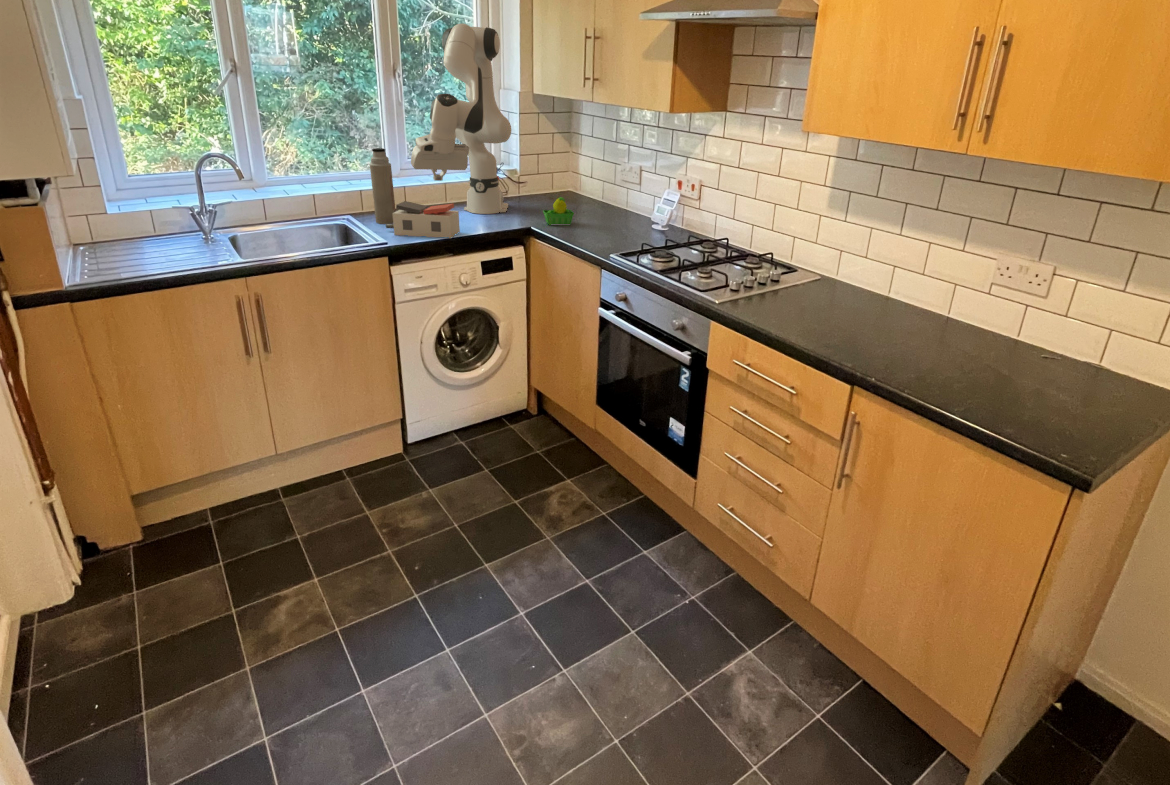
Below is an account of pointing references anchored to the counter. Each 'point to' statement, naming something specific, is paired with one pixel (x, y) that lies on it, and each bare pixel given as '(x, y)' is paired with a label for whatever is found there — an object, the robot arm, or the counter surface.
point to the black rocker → (411, 207)
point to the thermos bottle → (382, 187)
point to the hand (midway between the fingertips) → (437, 179)
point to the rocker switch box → (425, 224)
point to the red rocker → (438, 209)
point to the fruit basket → (558, 213)
